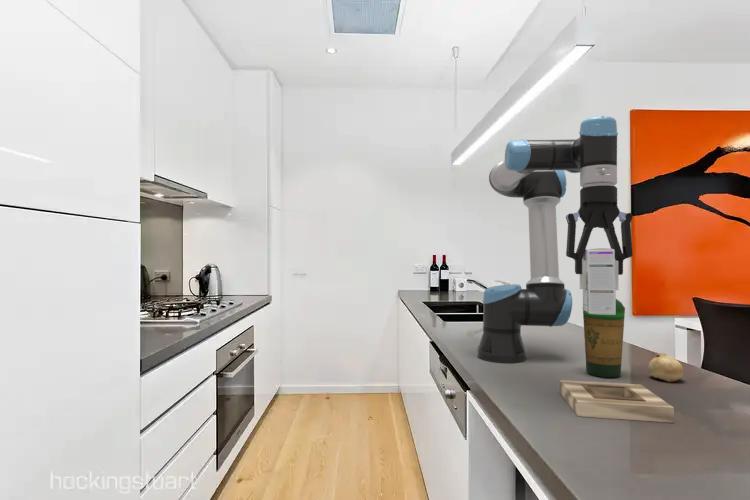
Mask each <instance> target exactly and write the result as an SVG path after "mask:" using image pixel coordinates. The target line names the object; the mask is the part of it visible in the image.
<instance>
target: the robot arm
mask: <svg viewBox="0 0 750 500" xmlns="http://www.w3.org/2000/svg"><path fill="white" fill-rule="evenodd" d="M579 126H580V127H579V131H578V132H579V133H578V134H579V138H576V139H573V138H572V139H518V140H510V141H509V142H508V143H506V146H505V150H504V160H503V161H500V162H499V163H497V164H495V165H494V166H493V167H492V168H491V170H490V171H489V175H488V182H489V185H490V187H491V188H492V189H493V190H494V191H495V192H496V193H498V194H499V195H501V196H504V197H508V198H515V199H516V198H522V201H523V205H524V206H525V207H527V208H528V209H527V210H528V233H529V234H528V235H529V236H528V237H529V264H530V266H529V267H530V269H529V270H530V271H529V272H530V279H529V280H528V281H527V282H526V283H525V288H522V286H521V285H520V284H502V285H495V286H489V287H487V288H485V290H484V291H483V300H482V304H483V310H482V311H483V313H482V315H483V316H482V317H483V321H482V324H483V325H482V328H483V329H482V330H483V332H482V334H481V338H480V340H479V345H478V348H477V353H476V354H477V358H479V359H481V360H484V361H488V362H494V363H502V364H503V363H504V364H505V363H507V364H511V363H512V364H513V363H522V362H525V361H526V360H527V351H526V348H525V343H524V341H523V337H522V335H521V334H522V333H521V326H535V327H551V328H552V327H562V326H565V325H566V324H567V323H568V322H569V320H570V318H571V314H572V309H573V296H572V292H571V291H570V290H569V289H568V288H566V287H565V282H564V281H563V280H562V279H561V278H560V272H559V269H560V268H559V248H558V230H557V229H558V228H557V227H558V226H557V208H556V207H557V205H559V204H560V202H561V198H564V196H565V194H566V191H567V177H566V173H565V171H566V172H568V173H571V174H578V173H580V174H579V176H580V177H579V180H580V181H579V184H580V185H579V186H580V187H581V189H580V190H579V196H580V198H579V199H580V201H579V209H578V210H577V212H574V213H573V212H572V213H570V212H569V213H568V214H566V215H565V219H566V222H567V233H566V234H567V235H566V237H567V238H566V252H565V253H566V254H565V256H566V257H567V258H570V259H573V260H574V273H575V275H579V289H580V290H583V289H586V260H582V258H583V255H584V252H585V250H587V245H588V243H589V240H590V237H591V234H592V231H594V230H593V229H595V228H599V229H603V232H605V235H606V237H607V241H608V244H609V247H610V249H614V250H615V290H616V291H619V276H622V275H623V274H624V260H626V259H629V258H632V257H633V243H632V242H633V241H632V240H633V239H632V225H631V223H632V220H633V217H634V214H633V213H632V212H628V213H627V212H623V211H620V209H619V206H618V187H617V186H615V185H617V184H618V135H619V134H618V125H617V120H616V119H615V118H614V117H612V116H608V115H599V116H593V117H588V118H586V119H584V120H582V121H581V122H580V125H579ZM579 218H580V219H581V220H582V222H583V224H584V225H583V228H582V232H581V236H580V240H579V242H578V244H577V245H578V246H577V248H576V247H575V246H576V234H577V233H576V231H577V222H578V221H579ZM617 218H619V219H618V220H619V222H620V232H621V233H620V234H621V246H620V243H619V240H618V239H619V238H618V237H617V234H616V229H615V225H614V222H615V220H616V219H617ZM621 247H622V248H621ZM575 248H576V251H575Z"/></svg>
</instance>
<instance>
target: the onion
mask: <svg viewBox="0 0 750 500" xmlns="http://www.w3.org/2000/svg"><path fill="white" fill-rule="evenodd" d="M647 366H648V367H647V368H648V372H649V374H650V375H651V376H652V377H653V378H655V379H659V380H661V381H665V382H668V383H673V382H676V381H677V382H678V380H681V378H682V377H683V376H684V373H685V372H684V371H685V370H684V367H683V365H682V363H680V362H679V360H677V359H676V358H674V357H672V356H669V355H668V354H666V353H660V352H656V353H655V356H654V357H653V358H652V359H651V360H650V361H649V363H648V365H647Z"/></svg>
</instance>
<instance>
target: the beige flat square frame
mask: <svg viewBox="0 0 750 500" xmlns="http://www.w3.org/2000/svg"><path fill="white" fill-rule="evenodd" d="M559 394H560V395H561V397H563V399H564V400H565V401H566V402H567V404H568V405H569V407H570V408H571V409H572V410H573V412H574V414H576V415H577V417H583V418H598V419H599V418H600V419H611V420H614V419H615V420H627V421H628V420H630V421H640V422H641V421H644V422H658V423H659V422H660V423H673V424H674V423H675V407H674V406H673V405H671V404H669V403H668V402H667V401H665V400H664V399H662V398H661V397H659V396H658V395H656V394H655V393H653V392H652V391H651V390H649V389H647V387H646V386H643V385H642V384H639V383H638V384H634V383H633V384H632V383H619V382H618V383H617V382H616V383H615V382H601V381H599V382H598V381H581V380H579V381H578V380H563V379H562V380H561V379H560V380H559Z"/></svg>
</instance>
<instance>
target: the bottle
mask: <svg viewBox="0 0 750 500" xmlns="http://www.w3.org/2000/svg"><path fill="white" fill-rule="evenodd" d="M582 314H583V334H584V336H583V337H584V349H585V351H584V352H585V367H586V372H587V373H588V374H590V375H592V376H594V377H598V378H604V379H608V378H609V379H614V378H618V377H621V374H622V358H623V346H624V345H623V342H624V333H625V332H624V330H625V329H624V328H625V318H626V317H625V316H626V315H625V314H626V307H625V306H624V304H623V303H622V302H621V301H620V300H619V299H617V298H616V315H599V314H589V313H586V312H584V311H583V310H582Z"/></svg>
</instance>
